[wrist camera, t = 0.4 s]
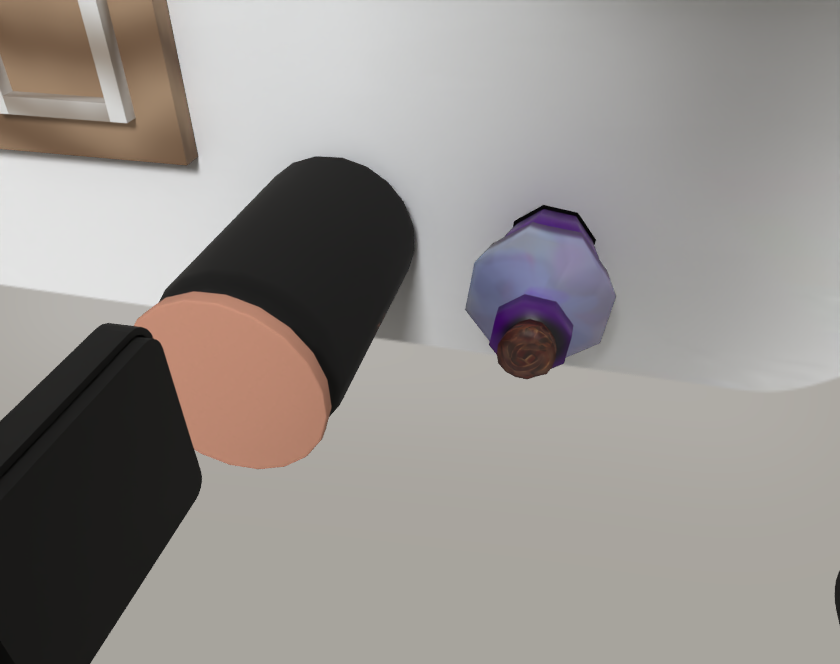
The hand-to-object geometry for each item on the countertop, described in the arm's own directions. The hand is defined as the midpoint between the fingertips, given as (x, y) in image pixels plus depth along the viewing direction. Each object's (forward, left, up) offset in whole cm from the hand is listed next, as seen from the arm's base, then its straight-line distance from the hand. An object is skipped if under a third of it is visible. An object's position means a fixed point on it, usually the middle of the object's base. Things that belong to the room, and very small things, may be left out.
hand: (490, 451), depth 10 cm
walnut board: (+4, -34, -36) cm, 49 cm away
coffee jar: (+16, -16, -36) cm, 42 cm away
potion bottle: (+16, -2, -36) cm, 39 cm away
